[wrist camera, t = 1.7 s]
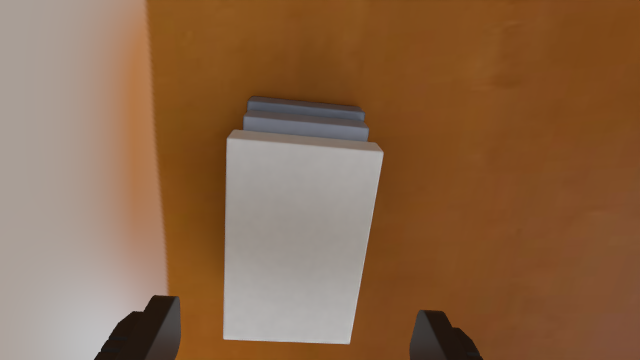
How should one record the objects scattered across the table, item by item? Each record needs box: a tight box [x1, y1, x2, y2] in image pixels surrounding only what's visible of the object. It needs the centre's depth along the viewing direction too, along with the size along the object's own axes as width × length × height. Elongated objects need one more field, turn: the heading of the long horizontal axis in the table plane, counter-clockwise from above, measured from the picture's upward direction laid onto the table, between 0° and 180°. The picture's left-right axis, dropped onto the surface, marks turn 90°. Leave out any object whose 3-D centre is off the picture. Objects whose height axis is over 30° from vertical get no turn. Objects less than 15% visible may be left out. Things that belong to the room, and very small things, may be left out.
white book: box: [223, 130, 384, 344], centre depth 16 cm, size 10×6×2 cm, turn 174°
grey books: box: [243, 96, 369, 142], centre depth 18 cm, size 12×6×3 cm, turn 174°
